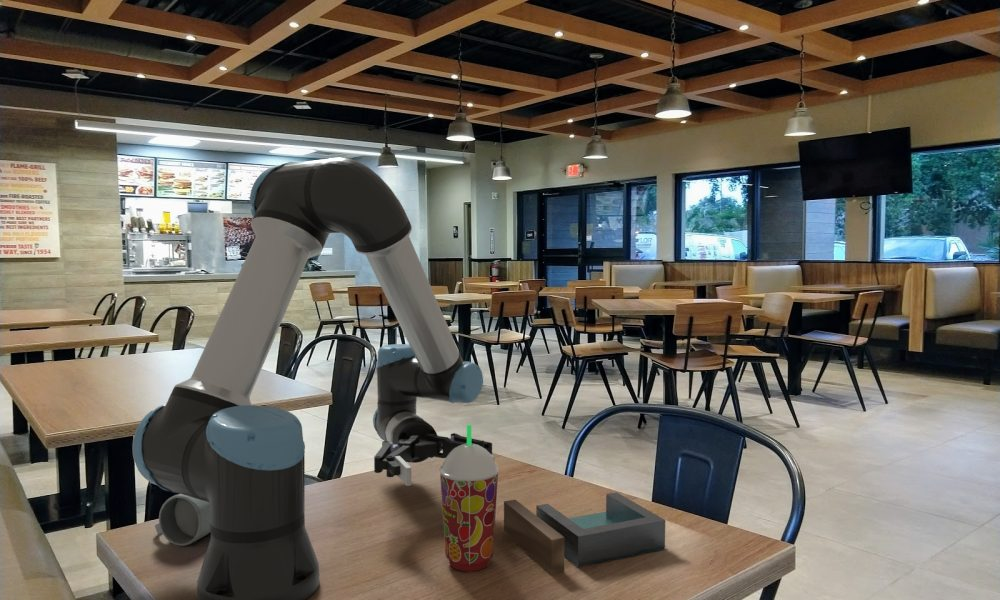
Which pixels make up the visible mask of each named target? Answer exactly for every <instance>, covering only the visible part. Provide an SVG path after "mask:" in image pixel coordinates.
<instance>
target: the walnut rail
mask: <svg viewBox="0 0 1000 600" xmlns="http://www.w3.org/2000/svg"><path fill="white" fill-rule="evenodd" d="M503 533H504V534H505V535H506V536H508V537H509V538H510V539H511V540H512V541H513V542H514V543H515V544H517V546H518V547H520V548H521V549H522V550H523V551H524V552H525V553H526V554H527V555H528V556H530V557H531V559H533V560H534V561H535V562H537V564H538V565H540V566H541V568H543V569H544V570H545V571H546V572H547V573H548V574H549V575H550V576H555V575H560V574H563V573H565V557H564V537H563V536H562V535H561V534H559V533H558V532H557V531H555V530H554V529H553V528H552V527H550V526H549V525H548V524H546V523H545V522H544V521H543V520H541V519H540V518H539V517H537V516H536V514H535V513H534V512H532V511H531V510H529V509H528V508H527V507H526V506H525V505H523V504H522V503H521V502H519V501H518V500H517V499H510V500H505V501H504V500H503Z"/></svg>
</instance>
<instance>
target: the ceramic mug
mask: <svg viewBox="0 0 1000 600" xmlns="http://www.w3.org/2000/svg"><path fill="white" fill-rule="evenodd" d="M158 514H159V515H158V523H156V525H155V527H154V528H155V531H156V533H157V535H163V536H164V537H165V539H166V541H168V542H169V543H171V544H173V545H175V546H179V547H185V546H190V545H191V544H193V543H195V542H197V541H198V540H201V539H202V538H204V537H205V536H207V535H208V534H211V531H210V503H209V502H207V501H203V500H200V499H196V498H193V497H190V496H187V495H183V494H180V493H177V494H175V495H173V496H171V497H169V498H168V499H166V500H165V502H164V503H163V504H162V506H161V508H160V510H159V513H158Z"/></svg>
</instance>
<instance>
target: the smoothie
mask: <svg viewBox="0 0 1000 600" xmlns="http://www.w3.org/2000/svg"><path fill="white" fill-rule="evenodd" d="M466 437H467V443H466V444H462V445H460V446H458V447H456V448H454V449H453V450H452V451H451V452H450V453H449V454H448V456H447V457H446V458H444V461H443V463H442V465H441V466H440V468H439V469H438V470H439V475H440V491H441V492H440V493H441V506H442V521H443V535H444V536H443V537H444V538H443V539H444V553H445V558H447V560H448V562H449V566H450V567H452V568H453V569H454V570H458V571H462V572H468V573H469V572H477V571H481V570H483V569H485V568H487V567H488V565H490V564H489V563H490V560H491V558H493V556H494V546H495V542H494V541H495V529H496V527H495V526H496V513H497V511H496V510H497V495H498V494H497V493H498V480H499V472H500V469H499V467H498V465H497V464H496V462H494V460H493V458H492V456H491V455H490V453H489V452H488V451H487V450H486V449H485V448H483V447H481V446H479V445H477V444H472V443H471V438H472V424H467V425H466Z"/></svg>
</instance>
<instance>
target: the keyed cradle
mask: <svg viewBox="0 0 1000 600" xmlns="http://www.w3.org/2000/svg"><path fill="white" fill-rule="evenodd" d="M605 498H606V499H605V502H606V504H605V505H606V506H605V508H606V509H605V511H602V512H597V513H596V512H595V513H590V514H586V515H580V516H579V515H578V516H574V517H568V516H565V514H563V513H561V512H560V511H559V510H557V509H556V508H554V507H553V506H551V504H549V503H543V504H537V505H536V506H535V507H536V509H535V511H536V514H535V515H536V516H537V517H539V518H540V519H541V520H543V521H544V522H545V523H546V524H548V525H549V526H550V527H552V528H553V529H554V530H555V531H557V532H558V533H559V534H561V535H562V536H563V537H564V558H565V559H567V560H568V561H569V562H570V563H571V564H572V565H574V566H575V567H576V568H583V567H587V566H593V565H597V564H602V563H607V562H611V561H616V560H620V559H626V558H630V557H636V556H640V555H644V554H649V553H653V552H659V551H664V550H665V549H666V519H665V518H662V517H661V516H659V515H657V514H655V513H653V512H652V511H651V510H649V509H647V508H645V507H643V506H642V505H641V504H638V503H636V502H635V501H633V500H631V499H629V498H628V497H626V496H624V495H622V494H621V493H619V492H617V491H616V492H610V493H606V496H605Z"/></svg>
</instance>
